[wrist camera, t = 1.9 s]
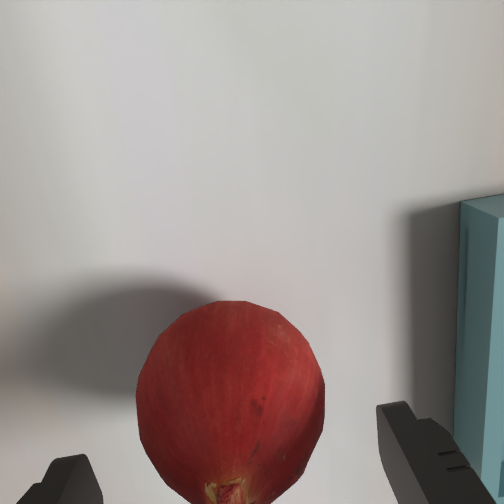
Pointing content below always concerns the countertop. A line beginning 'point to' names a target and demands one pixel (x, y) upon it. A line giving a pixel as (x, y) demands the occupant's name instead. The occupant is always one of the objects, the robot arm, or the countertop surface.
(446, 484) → the robot arm
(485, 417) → the tray
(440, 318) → the countertop surface
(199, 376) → the onion
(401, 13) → the countertop surface
